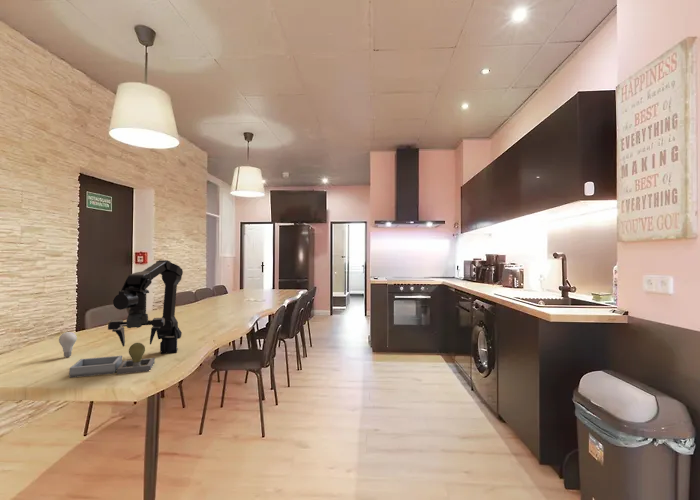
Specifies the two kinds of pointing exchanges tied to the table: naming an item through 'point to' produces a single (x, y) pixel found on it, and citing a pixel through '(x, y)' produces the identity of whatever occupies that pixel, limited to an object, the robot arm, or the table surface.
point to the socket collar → (123, 369)
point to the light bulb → (136, 353)
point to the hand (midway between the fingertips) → (137, 345)
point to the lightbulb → (67, 342)
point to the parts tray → (95, 366)
